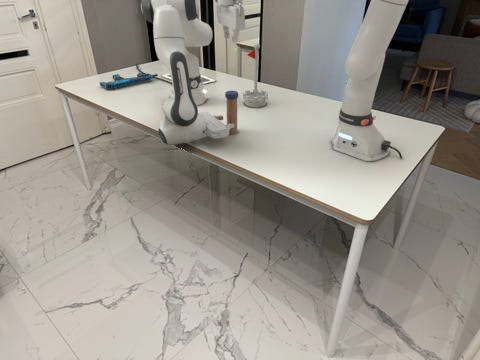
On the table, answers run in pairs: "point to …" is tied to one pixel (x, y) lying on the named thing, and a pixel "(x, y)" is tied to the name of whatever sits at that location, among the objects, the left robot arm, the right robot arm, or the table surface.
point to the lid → (231, 94)
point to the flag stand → (255, 85)
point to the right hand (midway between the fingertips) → (230, 40)
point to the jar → (232, 114)
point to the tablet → (203, 79)
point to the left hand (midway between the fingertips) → (227, 120)
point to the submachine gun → (126, 80)
